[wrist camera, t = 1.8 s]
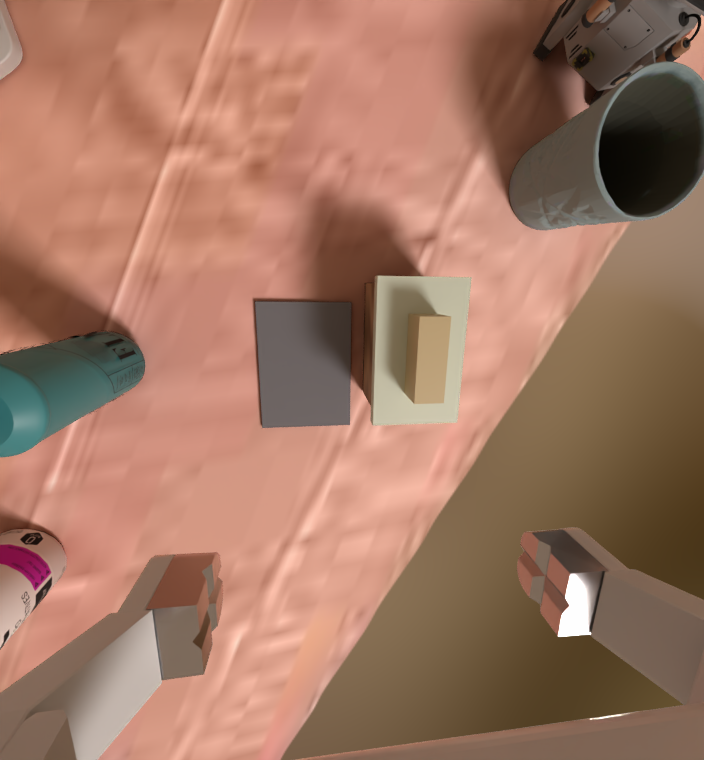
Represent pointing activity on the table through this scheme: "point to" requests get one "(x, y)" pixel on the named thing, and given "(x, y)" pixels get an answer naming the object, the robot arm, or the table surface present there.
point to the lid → (418, 348)
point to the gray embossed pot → (617, 155)
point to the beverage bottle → (62, 385)
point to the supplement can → (26, 575)
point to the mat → (304, 363)
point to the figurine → (620, 36)
